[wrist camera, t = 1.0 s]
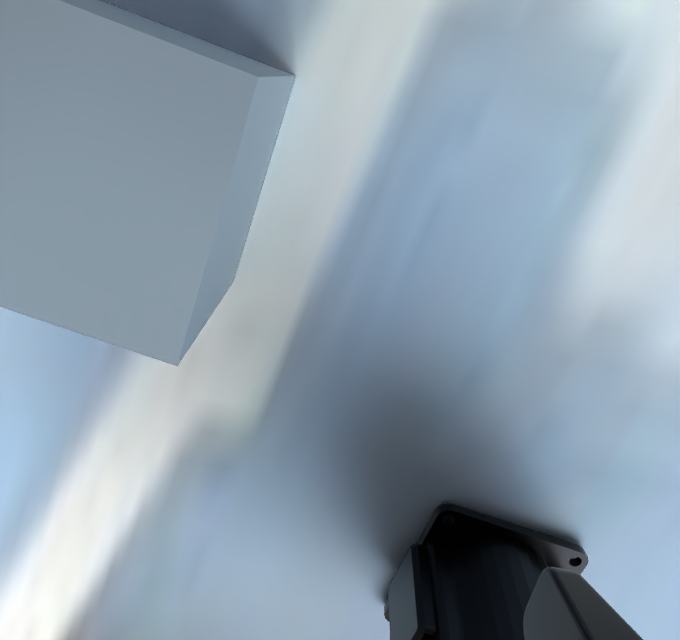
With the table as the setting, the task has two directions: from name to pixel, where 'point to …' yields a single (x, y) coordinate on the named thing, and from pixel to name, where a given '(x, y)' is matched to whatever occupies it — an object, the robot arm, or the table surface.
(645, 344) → the table surface
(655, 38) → the table surface
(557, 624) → the robot arm
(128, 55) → the block
